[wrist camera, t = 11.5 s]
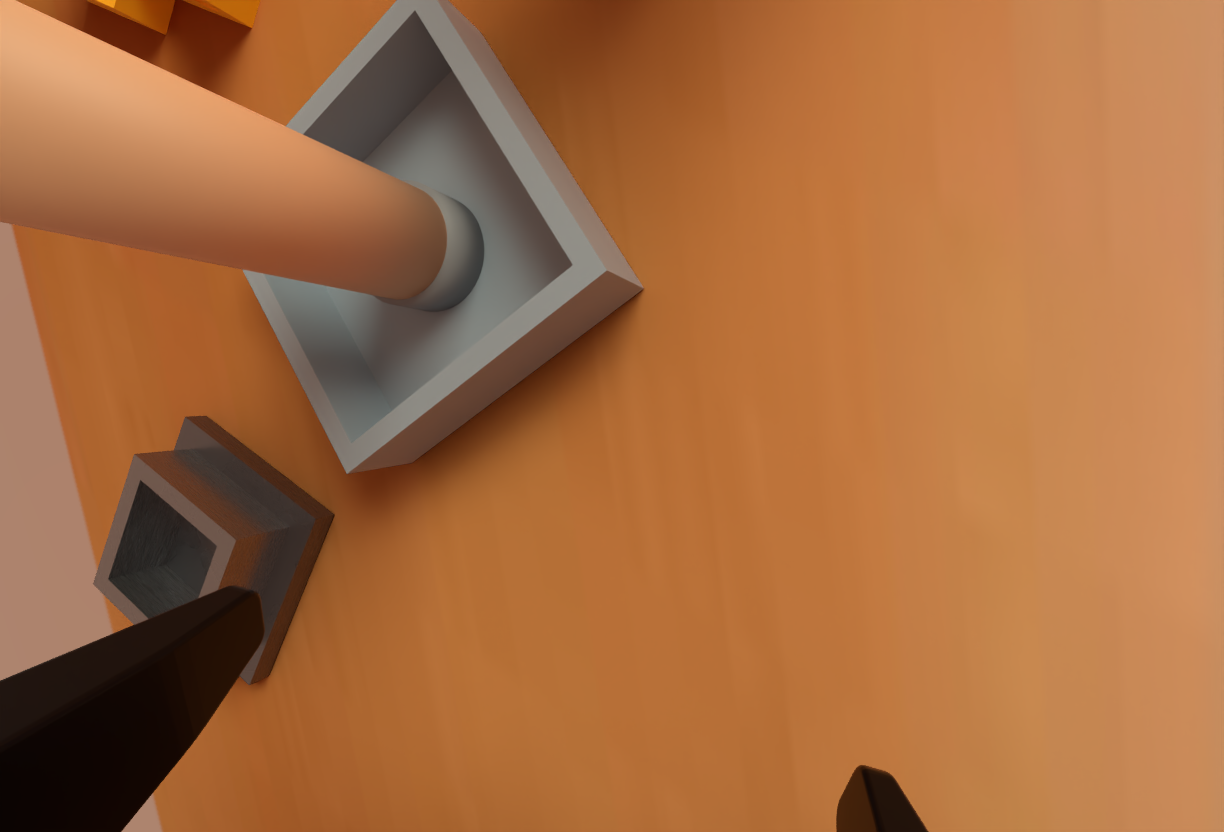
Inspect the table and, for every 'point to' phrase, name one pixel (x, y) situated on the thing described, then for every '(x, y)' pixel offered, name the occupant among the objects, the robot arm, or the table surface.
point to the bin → (511, 227)
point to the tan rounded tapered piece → (209, 176)
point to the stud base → (211, 534)
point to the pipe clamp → (154, 5)
